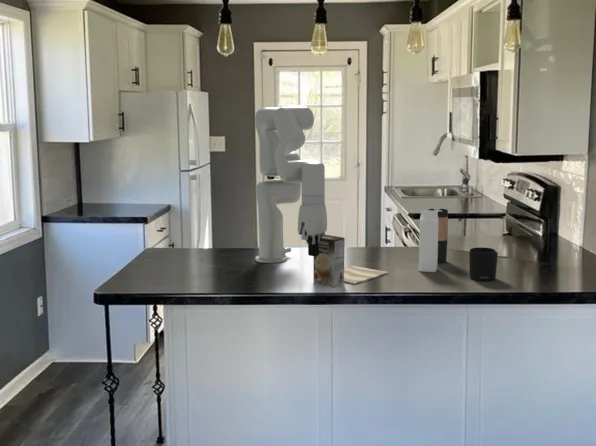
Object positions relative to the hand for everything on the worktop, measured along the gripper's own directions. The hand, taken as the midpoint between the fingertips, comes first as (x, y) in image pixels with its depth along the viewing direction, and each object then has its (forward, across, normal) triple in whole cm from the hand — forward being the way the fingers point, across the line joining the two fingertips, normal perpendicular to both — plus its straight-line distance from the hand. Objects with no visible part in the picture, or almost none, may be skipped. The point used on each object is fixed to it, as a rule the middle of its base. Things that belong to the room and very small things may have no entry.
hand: (313, 255), depth 225 cm
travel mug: (+11, -61, +11) cm, 63 cm away
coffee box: (+11, -8, 0) cm, 14 cm away
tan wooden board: (+11, -22, 0) cm, 25 cm away
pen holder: (+11, -47, +37) cm, 61 cm away
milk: (+11, -46, +16) cm, 50 cm away
